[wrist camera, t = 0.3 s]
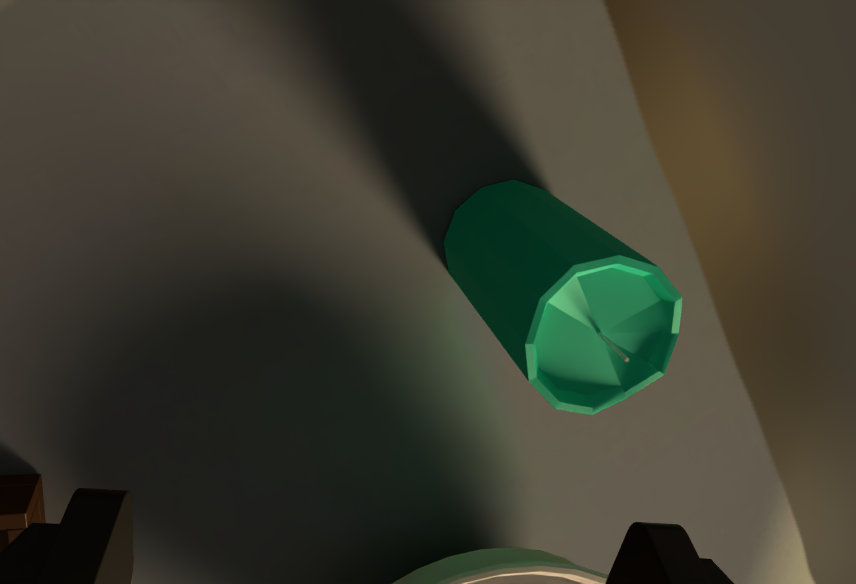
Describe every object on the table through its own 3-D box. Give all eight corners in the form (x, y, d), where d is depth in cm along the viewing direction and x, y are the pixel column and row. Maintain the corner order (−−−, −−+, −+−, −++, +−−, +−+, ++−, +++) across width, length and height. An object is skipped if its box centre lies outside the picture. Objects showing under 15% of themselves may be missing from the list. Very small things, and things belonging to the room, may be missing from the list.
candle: (437, 303, 35) (528, 444, 24) (449, 177, 33) (554, 273, 22) (555, 300, 37) (689, 433, 26) (574, 181, 35) (729, 272, 24)
